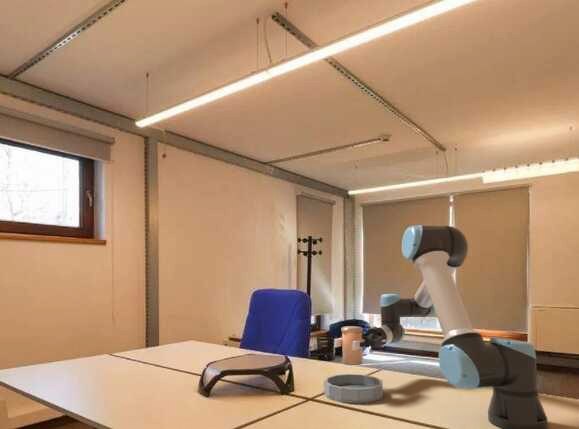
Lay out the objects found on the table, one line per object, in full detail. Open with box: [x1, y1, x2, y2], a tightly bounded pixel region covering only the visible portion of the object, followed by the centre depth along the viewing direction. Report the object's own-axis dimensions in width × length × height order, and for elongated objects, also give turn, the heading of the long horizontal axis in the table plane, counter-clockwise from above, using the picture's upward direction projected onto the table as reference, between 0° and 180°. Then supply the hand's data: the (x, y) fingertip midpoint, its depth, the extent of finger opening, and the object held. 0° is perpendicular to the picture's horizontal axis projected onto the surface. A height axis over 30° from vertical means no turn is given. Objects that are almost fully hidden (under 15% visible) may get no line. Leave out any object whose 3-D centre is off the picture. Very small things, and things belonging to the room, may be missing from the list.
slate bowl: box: [323, 373, 384, 404], centre depth 149 cm, size 20×20×4 cm
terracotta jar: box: [340, 325, 364, 366], centre depth 151 cm, size 8×8×12 cm
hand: (344, 344), depth 148 cm, fingers closed on terracotta jar, 7 cm apart
